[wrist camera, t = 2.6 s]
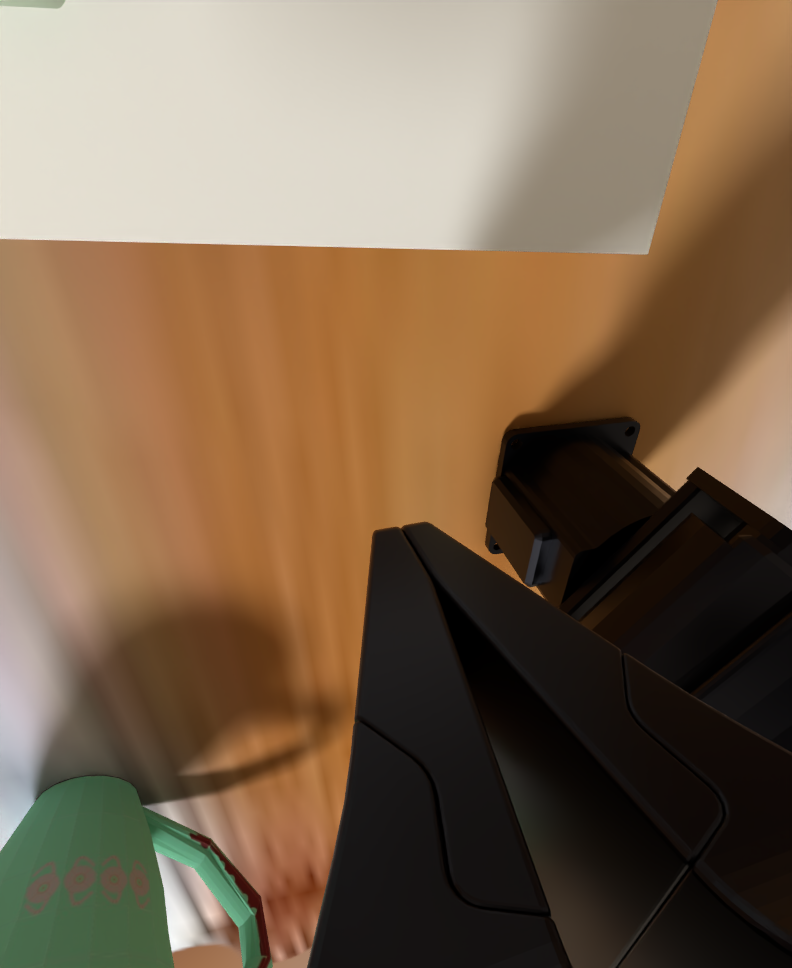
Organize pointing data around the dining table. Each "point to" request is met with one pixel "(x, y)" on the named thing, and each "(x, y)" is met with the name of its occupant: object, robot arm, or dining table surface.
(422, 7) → the deck
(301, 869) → the dining table surface
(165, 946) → the mug
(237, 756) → the dining table surface
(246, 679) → the dining table surface
